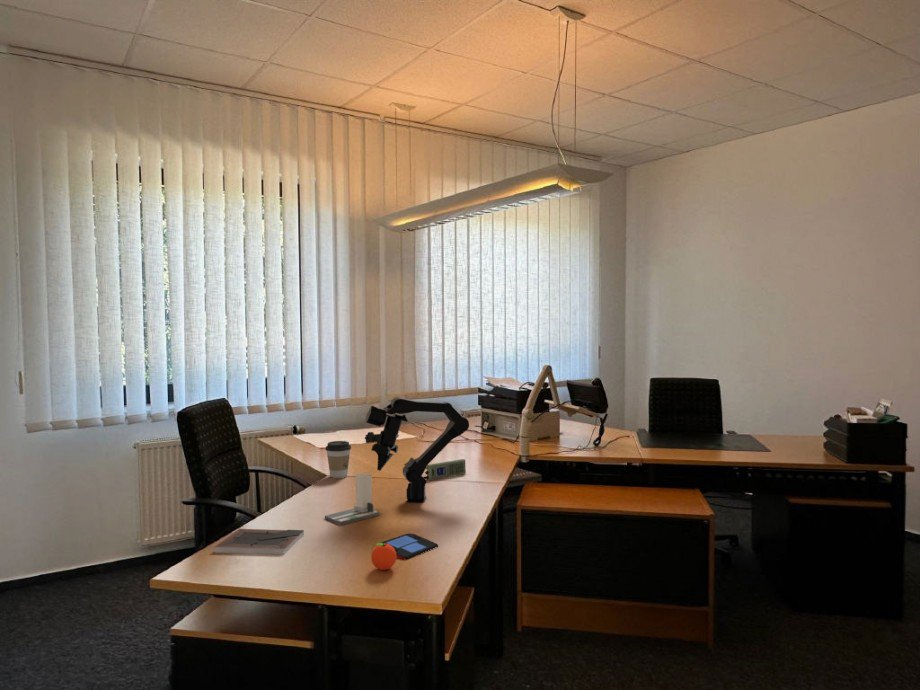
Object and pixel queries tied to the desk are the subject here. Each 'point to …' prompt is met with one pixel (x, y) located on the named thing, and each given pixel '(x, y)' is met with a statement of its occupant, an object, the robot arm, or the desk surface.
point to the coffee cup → (338, 458)
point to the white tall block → (364, 493)
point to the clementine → (383, 556)
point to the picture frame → (259, 541)
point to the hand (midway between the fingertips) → (378, 470)
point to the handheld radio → (445, 469)
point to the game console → (410, 545)
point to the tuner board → (349, 516)
